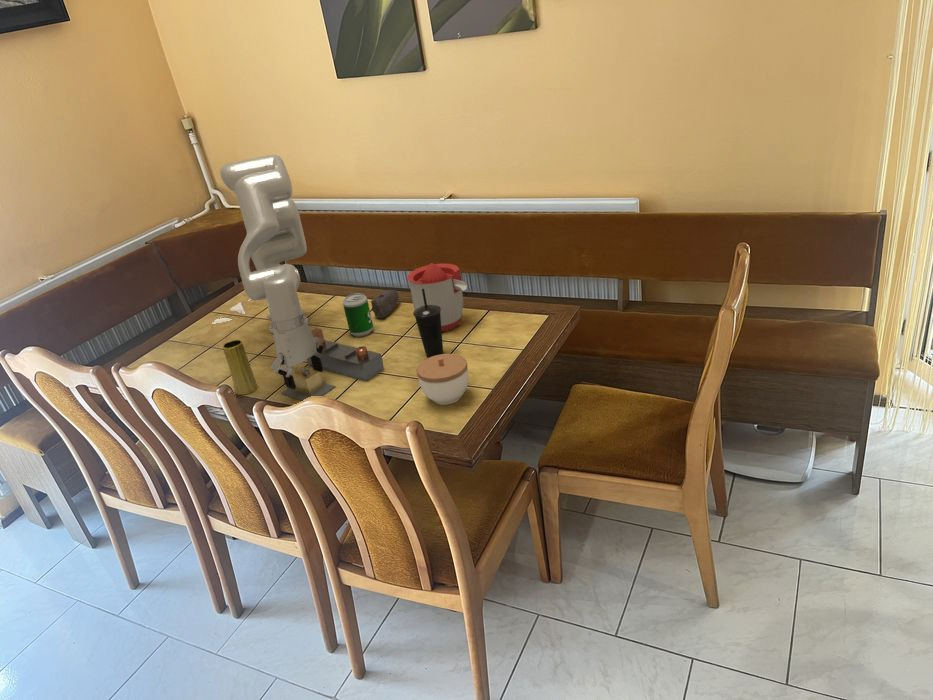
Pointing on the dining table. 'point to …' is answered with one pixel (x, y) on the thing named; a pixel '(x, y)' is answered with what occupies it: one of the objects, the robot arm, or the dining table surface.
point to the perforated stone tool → (384, 303)
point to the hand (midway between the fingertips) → (305, 379)
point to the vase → (239, 367)
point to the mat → (301, 396)
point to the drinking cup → (430, 327)
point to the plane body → (348, 359)
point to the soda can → (358, 314)
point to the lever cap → (307, 381)
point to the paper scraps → (237, 308)
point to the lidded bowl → (443, 378)
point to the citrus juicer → (439, 291)
